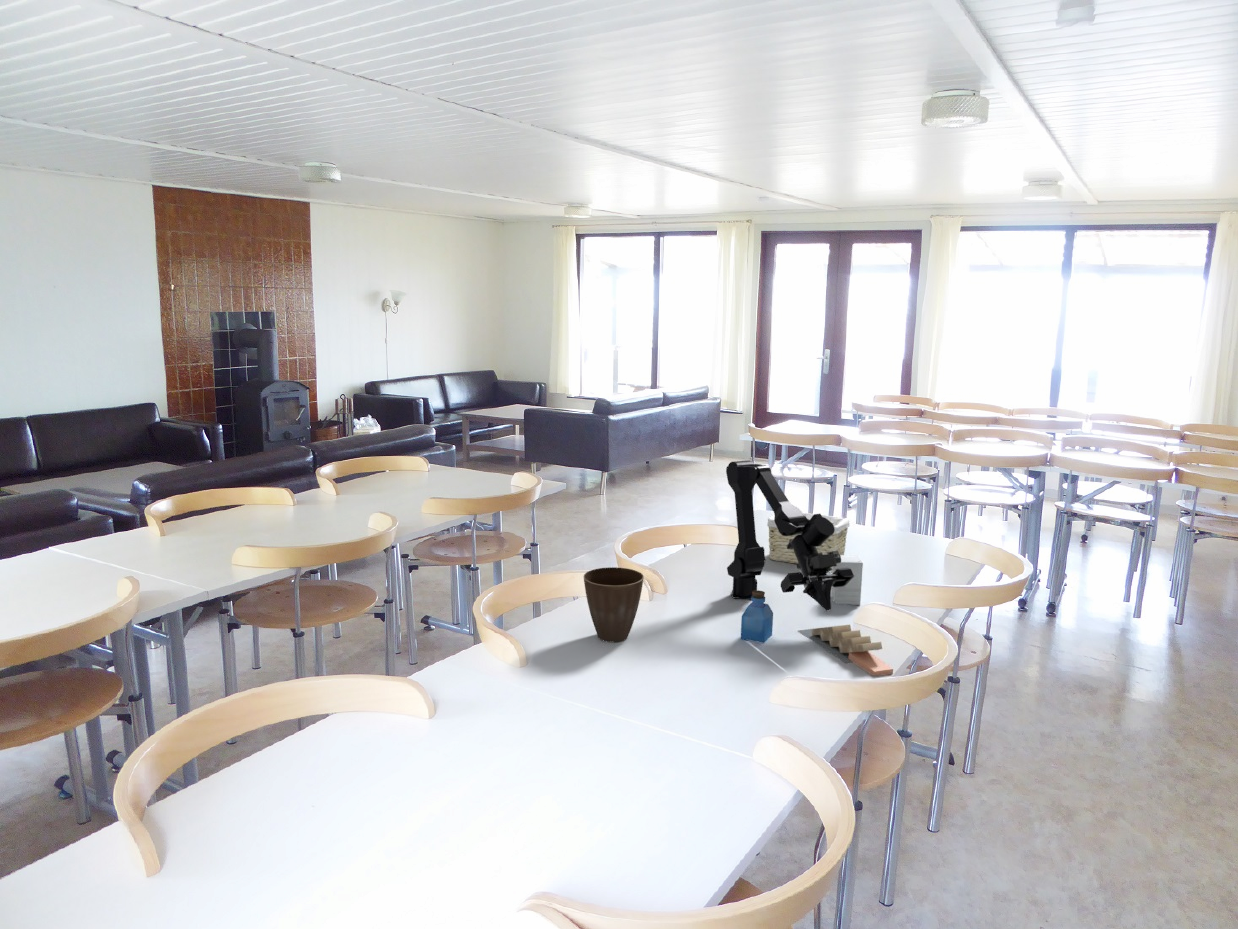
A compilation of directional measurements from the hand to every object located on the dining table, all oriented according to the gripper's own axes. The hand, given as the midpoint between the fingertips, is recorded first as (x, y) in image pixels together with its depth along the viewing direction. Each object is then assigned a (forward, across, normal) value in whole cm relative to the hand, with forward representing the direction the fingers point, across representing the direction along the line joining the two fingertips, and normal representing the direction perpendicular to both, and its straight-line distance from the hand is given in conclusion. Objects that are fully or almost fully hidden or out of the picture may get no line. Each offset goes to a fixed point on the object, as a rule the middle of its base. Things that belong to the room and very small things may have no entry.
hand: (828, 610), depth 212 cm
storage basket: (-40, +33, +51) cm, 73 cm away
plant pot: (-6, -51, +18) cm, 55 cm away
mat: (+8, 0, +3) cm, 9 cm away
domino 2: (+5, 0, +4) cm, 7 cm away
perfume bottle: (+1, -17, +10) cm, 20 cm away
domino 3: (+8, 0, +1) cm, 8 cm away
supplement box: (-12, +22, +23) cm, 34 cm away
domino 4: (+11, 0, -2) cm, 11 cm away
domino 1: (+3, 0, +7) cm, 7 cm away
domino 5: (+14, 0, -5) cm, 15 cm away
